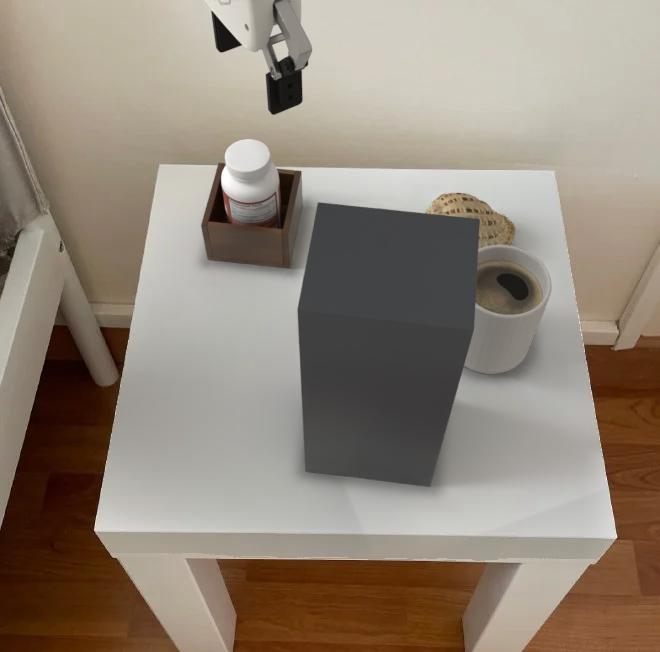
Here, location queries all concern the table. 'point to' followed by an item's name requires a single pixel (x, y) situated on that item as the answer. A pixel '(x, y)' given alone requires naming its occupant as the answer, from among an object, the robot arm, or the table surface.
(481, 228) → the seashell
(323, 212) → the block
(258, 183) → the pill bottle
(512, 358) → the mug
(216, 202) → the wooden box
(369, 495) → the table surface
